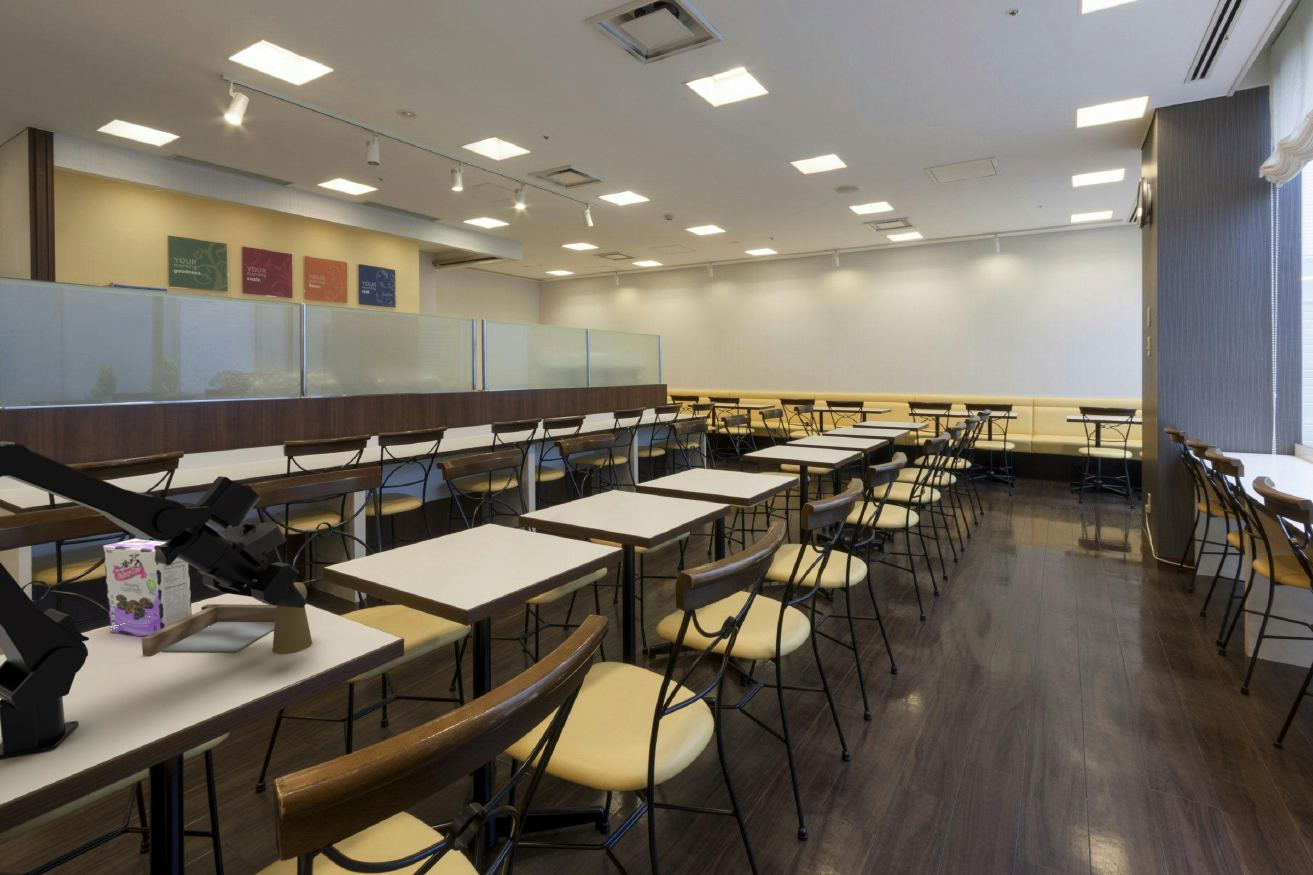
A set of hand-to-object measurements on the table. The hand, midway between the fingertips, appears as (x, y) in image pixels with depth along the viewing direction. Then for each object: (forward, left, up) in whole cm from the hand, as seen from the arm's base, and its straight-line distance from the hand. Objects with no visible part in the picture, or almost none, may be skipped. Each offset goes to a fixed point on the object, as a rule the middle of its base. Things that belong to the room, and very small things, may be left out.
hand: (288, 600), depth 108 cm
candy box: (+18, +26, -8) cm, 33 cm away
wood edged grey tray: (+9, +12, -8) cm, 17 cm away
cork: (0, 0, -8) cm, 8 cm away
